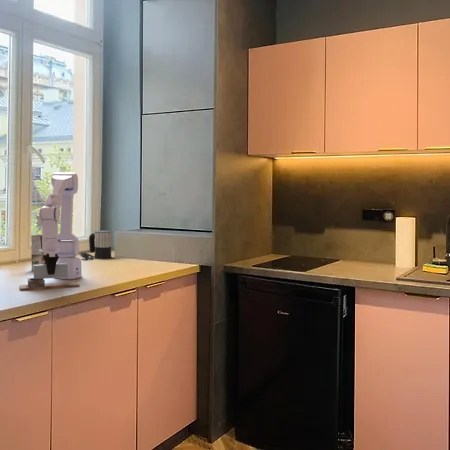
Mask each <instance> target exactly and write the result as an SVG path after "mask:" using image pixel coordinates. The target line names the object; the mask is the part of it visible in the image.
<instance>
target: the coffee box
mask: <svg viewBox="0 0 450 450" xmlns="http://www.w3.org/2000/svg"><path fill="white" fill-rule="evenodd" d="M30 237H31V238H30V239H31V241H30V242H31V245H30V246H31V247H30V248H31V251H30V253H31V254H30V255H31V256H30V257H31V271H34V265H39V264H45V261H44V258H43V256H42V255H47V253H43V252H39V250H42V234H34V235H30Z"/></svg>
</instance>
